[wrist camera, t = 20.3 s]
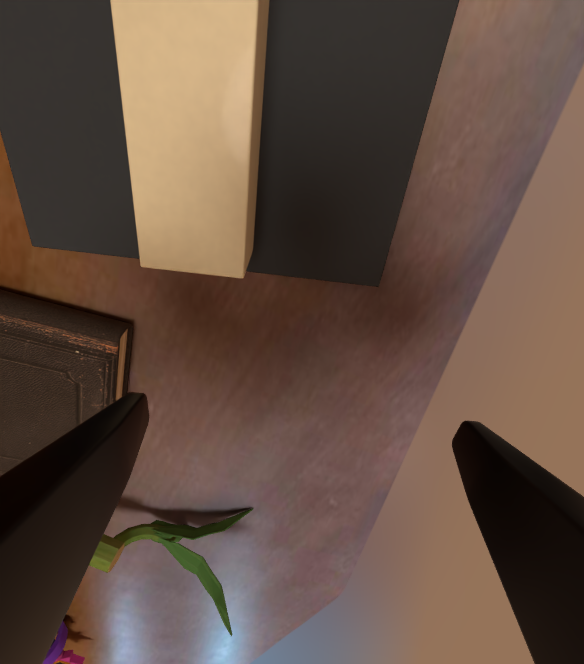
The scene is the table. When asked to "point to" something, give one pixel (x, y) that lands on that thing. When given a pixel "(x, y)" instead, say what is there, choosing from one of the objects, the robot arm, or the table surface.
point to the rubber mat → (275, 140)
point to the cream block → (193, 127)
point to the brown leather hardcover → (54, 372)
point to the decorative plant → (168, 535)
